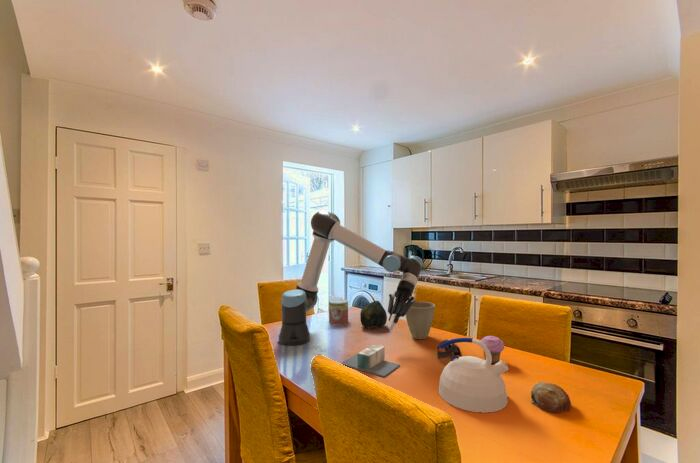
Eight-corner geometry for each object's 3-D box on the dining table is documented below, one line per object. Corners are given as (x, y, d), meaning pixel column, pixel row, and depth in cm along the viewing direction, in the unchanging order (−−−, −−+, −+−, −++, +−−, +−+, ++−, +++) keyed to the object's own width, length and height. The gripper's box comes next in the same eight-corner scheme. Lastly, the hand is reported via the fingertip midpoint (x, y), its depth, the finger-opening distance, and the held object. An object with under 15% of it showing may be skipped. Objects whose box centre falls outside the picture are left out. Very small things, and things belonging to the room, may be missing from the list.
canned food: (326, 324, 182) (326, 303, 182) (331, 318, 193) (331, 298, 193) (346, 324, 180) (346, 303, 180) (349, 319, 191) (349, 299, 191)
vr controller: (467, 364, 126) (458, 347, 124) (445, 373, 127) (436, 357, 125) (458, 345, 137) (450, 330, 136) (438, 354, 139) (430, 339, 137)
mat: (340, 364, 126) (340, 363, 126) (357, 354, 136) (357, 353, 136) (384, 377, 114) (384, 376, 114) (400, 365, 124) (400, 364, 124)
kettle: (504, 421, 87) (503, 355, 87) (429, 401, 98) (428, 342, 98) (512, 390, 104) (511, 334, 104) (447, 375, 115) (447, 325, 115)
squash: (350, 316, 177) (364, 298, 170) (368, 312, 188) (381, 295, 181) (365, 337, 169) (380, 319, 163) (382, 332, 180) (397, 315, 174)
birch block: (374, 356, 132) (357, 366, 122) (374, 344, 132) (357, 353, 122) (384, 359, 129) (368, 369, 119) (384, 346, 129) (368, 356, 119)
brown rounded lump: (529, 408, 100) (518, 385, 99) (557, 392, 100) (546, 369, 100) (552, 427, 90) (540, 402, 90) (582, 409, 91) (571, 384, 90)
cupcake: (480, 364, 124) (479, 338, 124) (479, 356, 132) (479, 331, 132) (505, 367, 121) (505, 340, 121) (503, 358, 129) (502, 334, 129)
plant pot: (441, 337, 155) (441, 305, 155) (420, 344, 147) (419, 309, 147) (419, 330, 168) (418, 299, 168) (398, 335, 159) (397, 303, 159)
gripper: (392, 278, 153) (373, 321, 140) (417, 280, 145) (400, 326, 132) (397, 288, 157) (380, 330, 144) (422, 290, 149) (406, 335, 136)
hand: (389, 328), depth 138 cm, fingers closed
